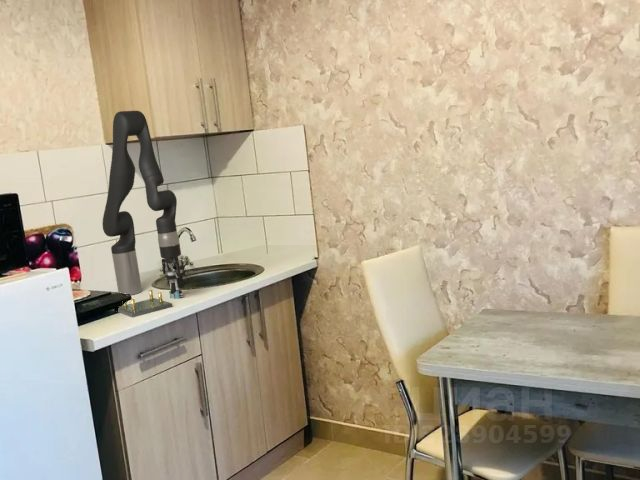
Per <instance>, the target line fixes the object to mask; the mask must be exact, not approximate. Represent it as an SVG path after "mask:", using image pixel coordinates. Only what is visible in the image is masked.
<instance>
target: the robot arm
mask: <svg viewBox="0 0 640 480" xmlns="http://www.w3.org/2000/svg"><path fill="white" fill-rule="evenodd" d="M150 132H151V131H150V129H149V124H148V121H147V119H146V116H145V114H144V113H143V112H142V111H140V110H122V111H118V112H116V114H114V116H113V121H112V152H111V153H112V154H111V162H110V170H109V179H108V188H107V189H108V190H107V197H106V203H105V207H104V212H103V216H102V230H103V233H104V234H105V235H106V236H107V237H111V238H113V237H118V236H119V239H118V240H117V242H115V243H114V244H113V245H111V249H110V250H111V256H112V262H113V267H114V274H115V280H116V286H117V292H121V293H126V294H130V295H129V296H131V295H137V294H139V293H142V292H143V288H142V282H141V275H140V269H139V262H138V257H137V251H136V244H137V243H136V234H135V225H134V224H135V223H134V219H133V217H132V214H131V213H130V212H128V211H126V210H123V211H120V210H121V206H122V204H123V202H124V201H125V199H126V198H127V197H128V195H129V193H130V192H131V190H132V189H133V187H134V184H135V177H136V167H135V164H134V161H133V160H132V158H131V155H130V154H129V151H128V138H129V137H134V136H135V137H137V140H138V142H139V145H140V148H139V149H140V150H139V157H138V169H139V172H140V175H141V177H142V179H143V182H144V187H145V194H146V202H147V206H148V207H149V208H150V209H151V210H152V211H154V212H159V211H163V212H162V215H161V216H159V217H158V218H156V219H155V226H156V231H157V242H158V248H159V253H160V258H161V268H162V272H163V275H167V272H170V271H172V272H173V274H175V276H176V279H177V285H178V288H179V289H183V288H184V287H185V284H184V276H185V277H186V271H185V265H184V260H183V259H179V256H181V255H182V251H181V249H182V248H181V244H180V238H179V234H178V230H177V224H176V215H177V206H178V205H177V204H178V203H177V195H176V194H175V192H173V191H172V190H170V189H165V190H159V189H158V187H159V186H161V185H163V184H164V181H165V180H164V176H163V174H162V171H161V167H160V166H159V164H158V161H157V158H156V155H155V152H154V146H153V141H152V137H151V133H150ZM177 273H178V274H177ZM166 280H167V279H166ZM167 285H168V286H169V287H170V282H169V280H167Z"/></svg>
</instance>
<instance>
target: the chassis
mask: <svg viewBox="0 0 640 480" xmlns="http://www.w3.org/2000/svg"><path fill="white" fill-rule="evenodd" d="M153 292H154V291H153V289H150V290H148V294H149V299H145V300H140V301H137V302H135V299H134V298H133V299H130V303H129V304H127V303H128V302H127V301H126V302H125V303H124V304H123V303H122V306H121V305H120V306H121V307H120V306H118V307H119V308H118V312H117V313H119V314H122V315H125V316H128V317H131V318H135V317H140V316H142V315H147V314H151V313H154V312H158V311H162V310H166V309H169V308H173V303H172V302H169V301H166V300H163V295H162V292H157V295H158V298H156V297H154V294H153Z"/></svg>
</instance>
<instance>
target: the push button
mask: <svg viewBox="0 0 640 480" xmlns="http://www.w3.org/2000/svg"><path fill="white" fill-rule="evenodd" d="M177 274H178V273H177ZM164 275H165V274H164ZM165 278H166V280H169V282H170V286H169V287H170V291H169V293H168V294H169V298H170V299H181V298H182V297H185V296H184V293H183V291H182V290H181V289H180V288H178V285H177V279H176V276H175V274H173V272H172V271H170V272H167V275H165Z"/></svg>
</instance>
